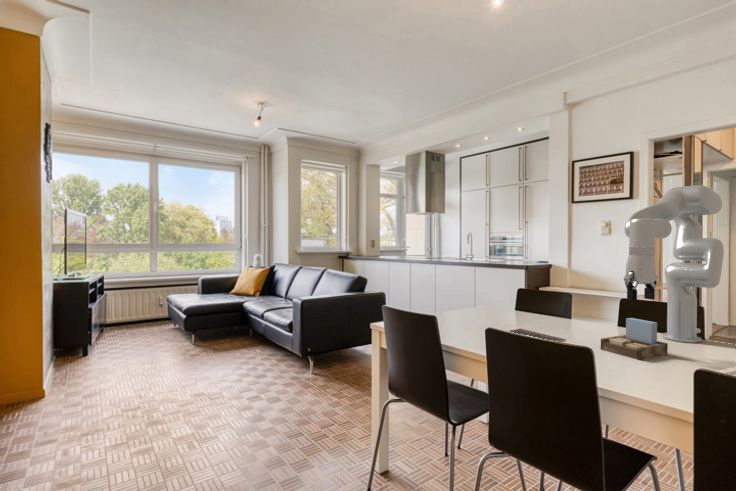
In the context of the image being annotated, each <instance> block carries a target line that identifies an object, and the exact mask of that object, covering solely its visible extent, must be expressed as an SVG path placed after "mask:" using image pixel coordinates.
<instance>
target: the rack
mask: <svg viewBox="0 0 736 491" xmlns="http://www.w3.org/2000/svg"><path fill="white" fill-rule="evenodd" d="M613 338H622V339H627V340H631V343H638V344H642V345H646V346H643V347H638V348H637V350H636V349H632V348H628V347H624V346H620V345H616V344H612V343H609V339H613ZM600 351H603V352H604V351H605V352H609V353H611V354H615V355H619V356H623V357H627V358H630V359H634V360H637V361H644V360H648V359H654V358H659V357H664V356H668V343H666V342H663V341H659V340H657V344H651V343H646V342H642V341H638V340H634V339H629V338H626V334H622V335H616V336H609V337H602V338H600Z"/></svg>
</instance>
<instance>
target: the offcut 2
mask: <svg viewBox="0 0 736 491" xmlns="http://www.w3.org/2000/svg"><path fill="white" fill-rule="evenodd" d="M643 346H646V345H642V344H638V343H631V344H626V347H628V348H632V349H636V350H637V348H638V347H643Z"/></svg>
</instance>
